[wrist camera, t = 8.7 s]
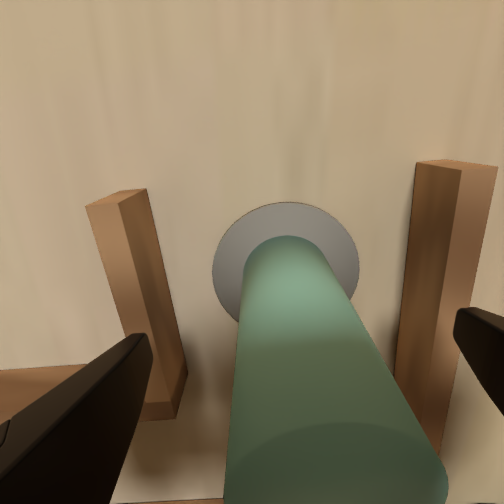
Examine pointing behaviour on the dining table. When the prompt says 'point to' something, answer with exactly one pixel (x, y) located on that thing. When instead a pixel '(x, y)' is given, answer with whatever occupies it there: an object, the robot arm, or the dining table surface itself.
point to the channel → (412, 310)
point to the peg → (317, 396)
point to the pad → (279, 224)
